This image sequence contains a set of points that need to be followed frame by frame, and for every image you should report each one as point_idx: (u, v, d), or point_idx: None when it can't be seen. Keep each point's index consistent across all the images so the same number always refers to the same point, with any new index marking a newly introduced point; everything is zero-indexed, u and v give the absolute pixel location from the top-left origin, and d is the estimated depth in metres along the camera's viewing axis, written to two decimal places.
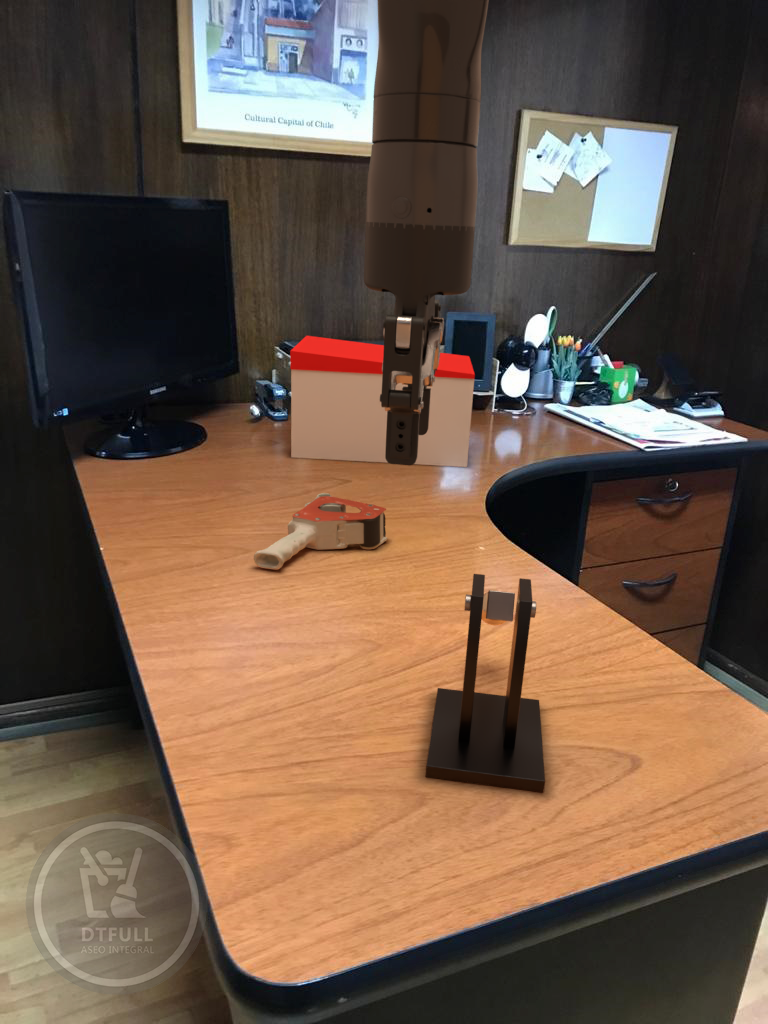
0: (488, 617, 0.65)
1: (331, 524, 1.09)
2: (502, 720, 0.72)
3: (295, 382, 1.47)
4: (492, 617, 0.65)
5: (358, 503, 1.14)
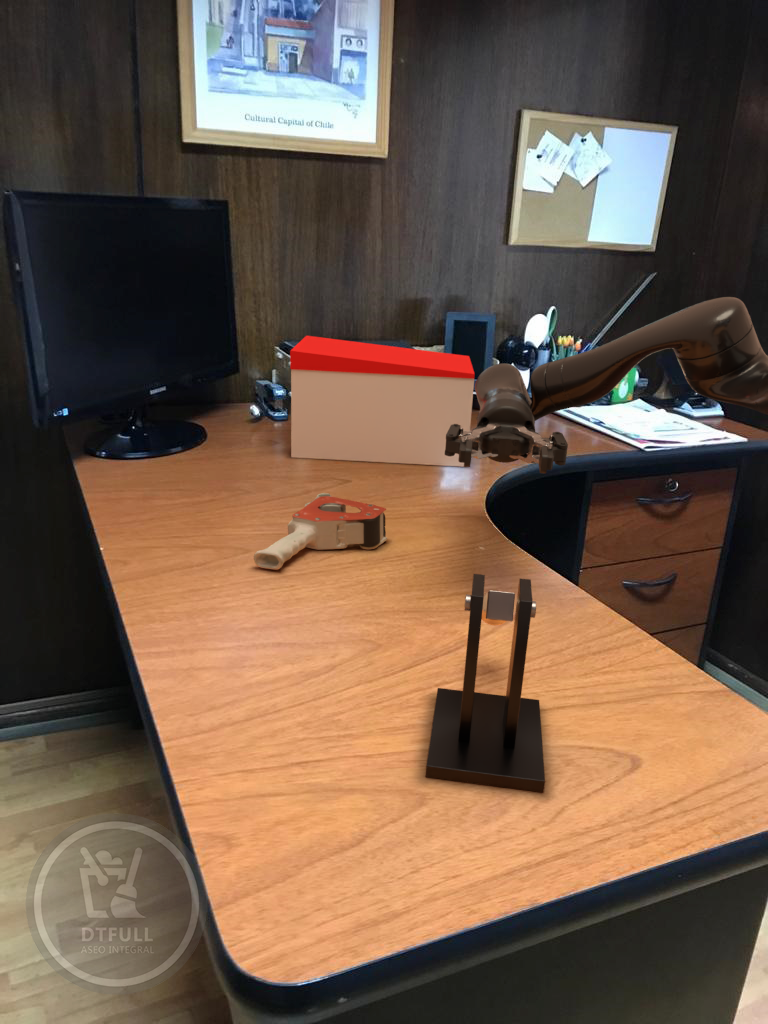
0: (488, 617, 0.65)
1: (331, 524, 1.09)
2: (502, 720, 0.72)
3: (295, 382, 1.47)
4: (492, 617, 0.65)
5: (358, 503, 1.14)
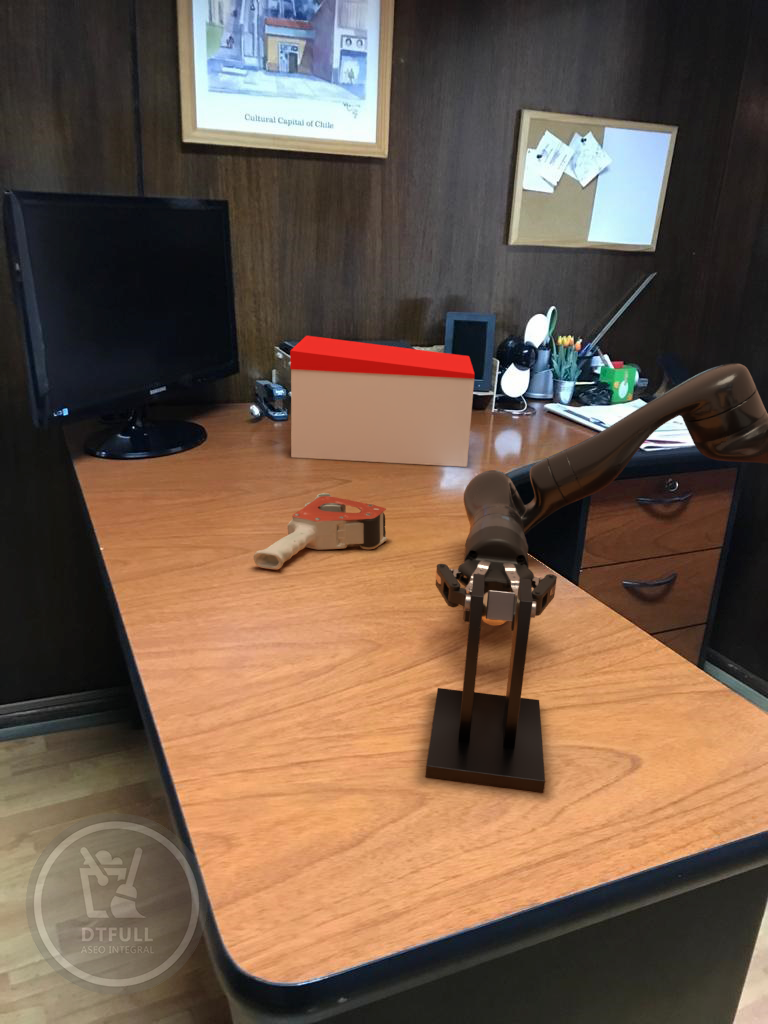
0: (488, 617, 0.65)
1: (331, 524, 1.09)
2: (502, 720, 0.72)
3: (295, 382, 1.47)
4: (492, 617, 0.65)
5: (358, 503, 1.14)
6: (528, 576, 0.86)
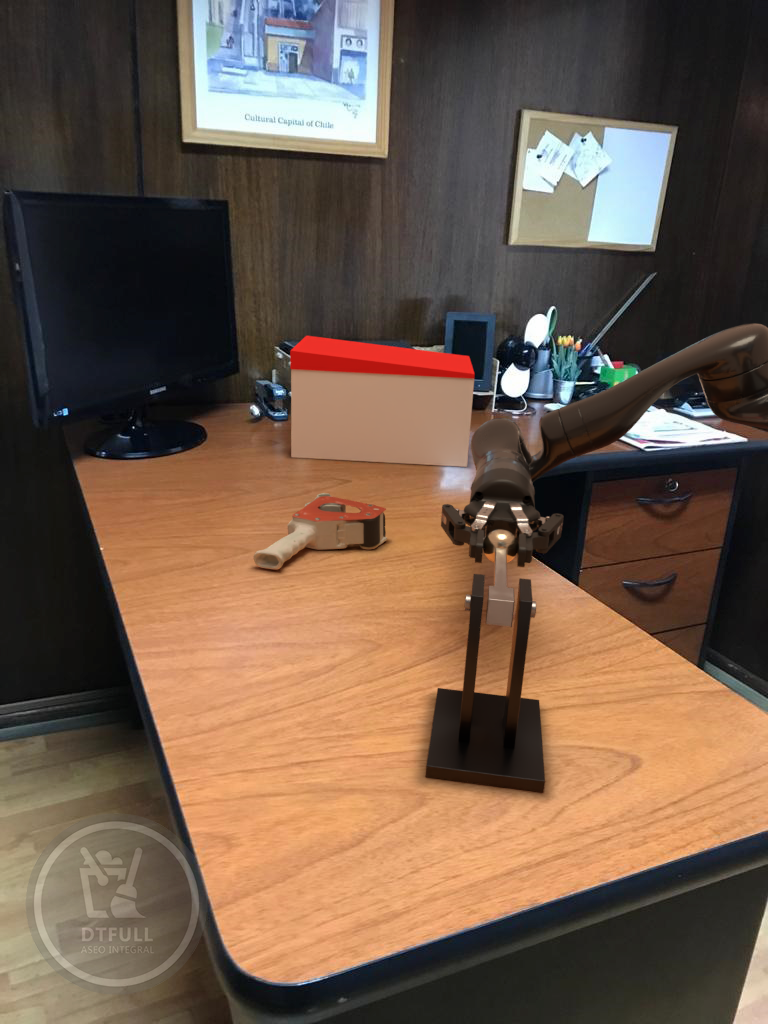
0: (487, 623, 0.65)
1: (331, 524, 1.09)
2: (502, 720, 0.72)
3: (295, 382, 1.47)
4: (491, 623, 0.65)
5: (358, 503, 1.14)
6: (534, 515, 0.85)
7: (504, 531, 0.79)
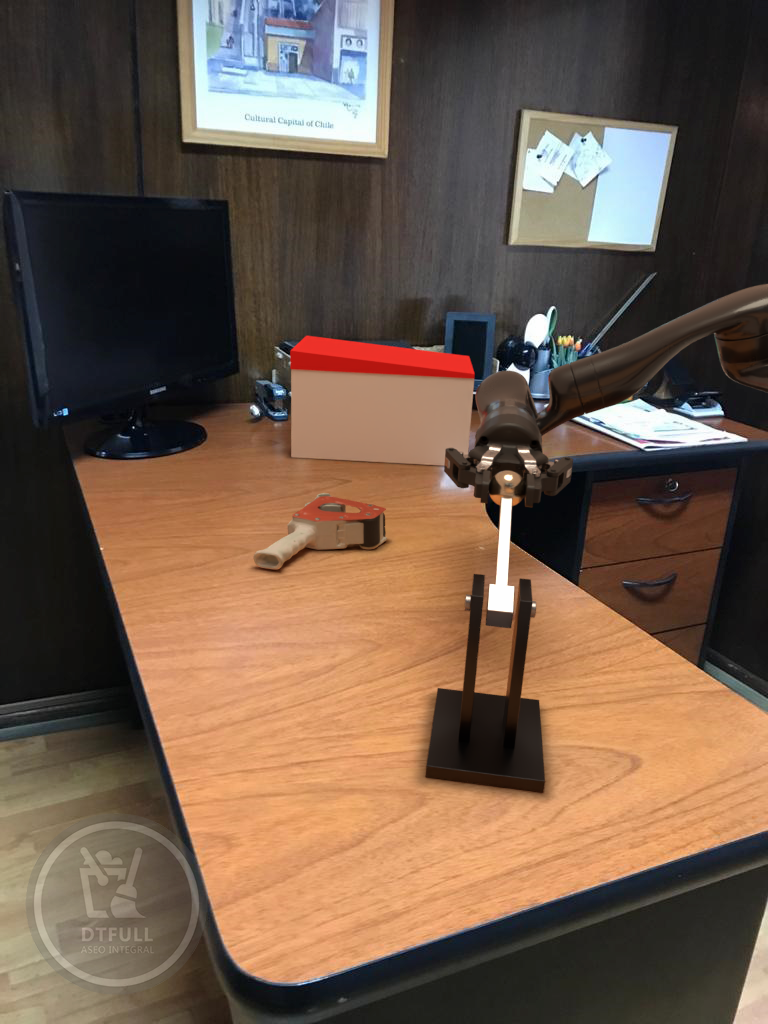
0: (487, 625, 0.66)
1: (331, 524, 1.09)
2: (502, 720, 0.72)
3: (295, 382, 1.47)
4: (491, 625, 0.66)
5: (358, 503, 1.14)
6: (543, 459, 0.81)
7: (511, 477, 0.74)
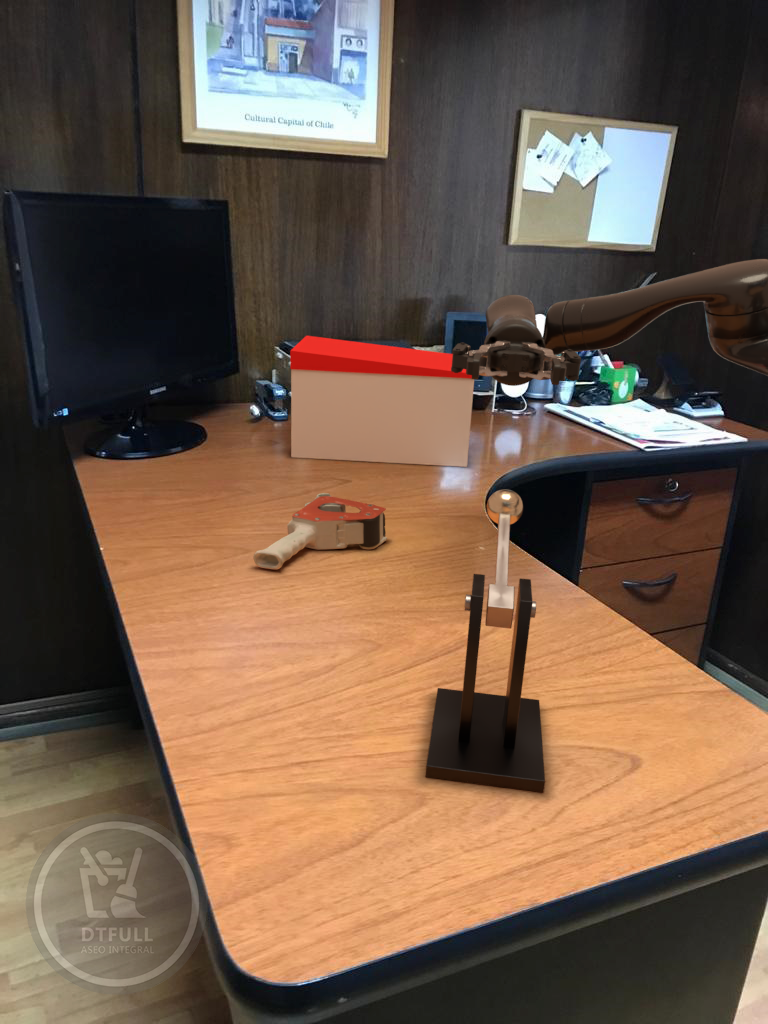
0: (487, 625, 0.66)
1: (331, 524, 1.09)
2: (502, 720, 0.72)
3: (295, 382, 1.47)
4: (491, 625, 0.66)
5: (358, 503, 1.14)
6: None
7: (508, 494, 0.76)
